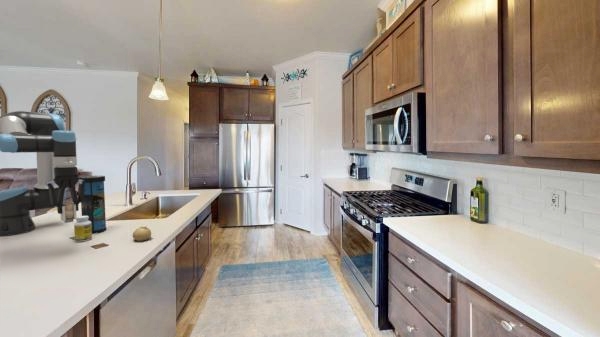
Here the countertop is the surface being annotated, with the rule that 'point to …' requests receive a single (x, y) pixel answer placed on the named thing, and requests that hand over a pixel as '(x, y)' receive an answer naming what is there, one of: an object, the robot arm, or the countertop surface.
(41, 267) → the countertop surface
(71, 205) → the tan wooden cylinder
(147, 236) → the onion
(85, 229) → the pill bottle
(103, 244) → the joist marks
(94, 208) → the advertising column
